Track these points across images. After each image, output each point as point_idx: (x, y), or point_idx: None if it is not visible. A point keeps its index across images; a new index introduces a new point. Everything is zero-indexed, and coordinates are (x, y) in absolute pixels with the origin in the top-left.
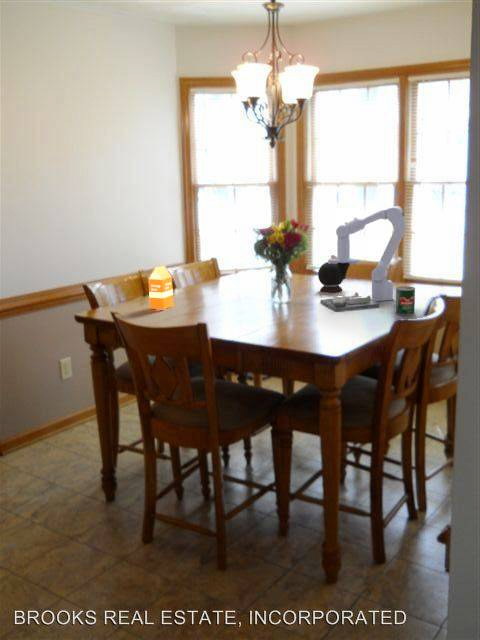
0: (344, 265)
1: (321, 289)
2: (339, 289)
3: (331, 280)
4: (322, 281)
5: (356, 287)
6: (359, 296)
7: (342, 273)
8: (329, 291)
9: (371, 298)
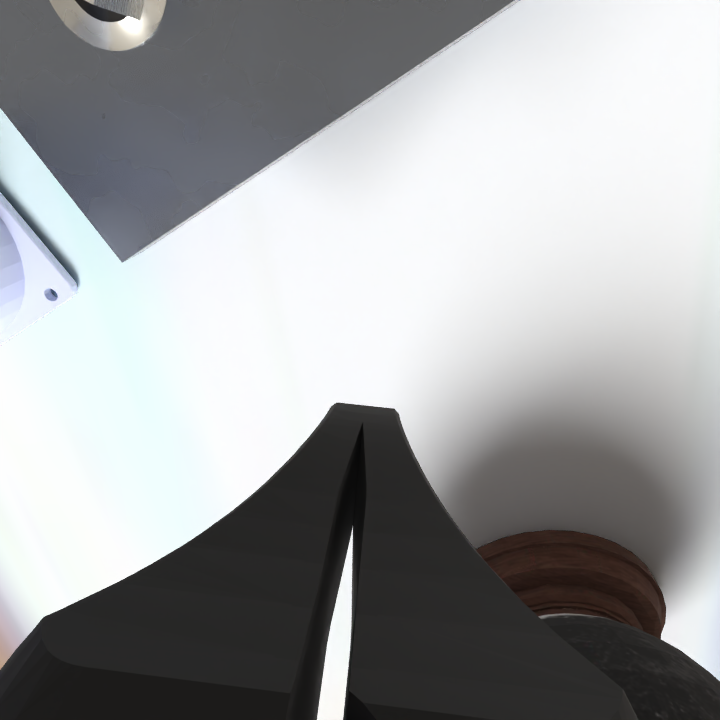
0: (151, 701)
1: (657, 601)
2: None
3: (584, 655)
4: (701, 666)
5: (331, 707)
6: (147, 229)
7: (365, 472)
8: (566, 546)
9: (13, 230)
